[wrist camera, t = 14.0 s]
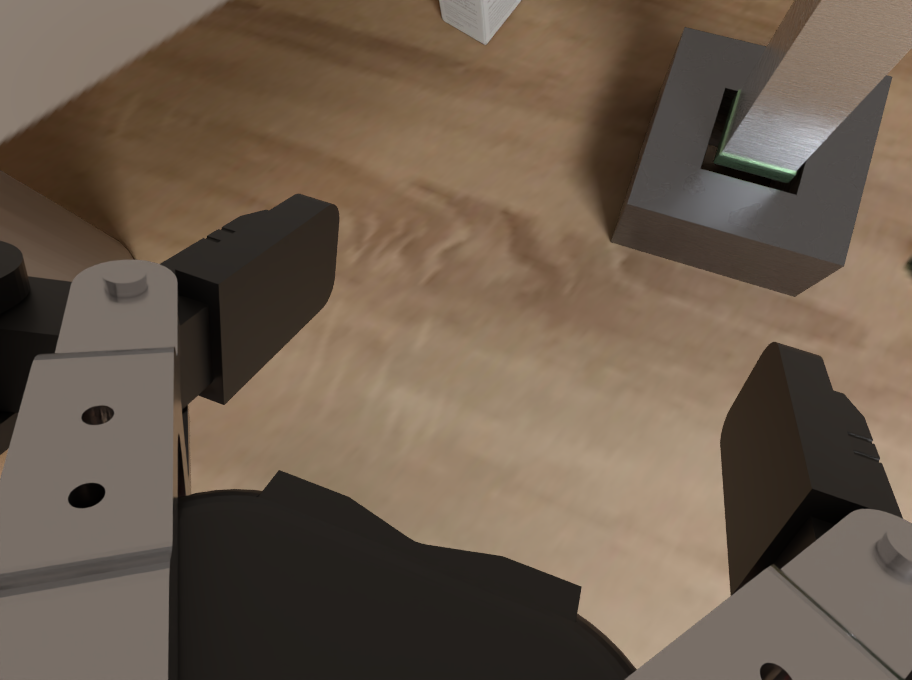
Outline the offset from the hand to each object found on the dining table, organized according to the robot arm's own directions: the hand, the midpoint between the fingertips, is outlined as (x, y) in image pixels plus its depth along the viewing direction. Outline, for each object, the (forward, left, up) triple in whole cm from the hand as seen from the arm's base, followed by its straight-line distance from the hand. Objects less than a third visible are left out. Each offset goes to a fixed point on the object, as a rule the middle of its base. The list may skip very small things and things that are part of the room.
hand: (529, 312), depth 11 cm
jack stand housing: (+8, +20, -29) cm, 36 cm away
